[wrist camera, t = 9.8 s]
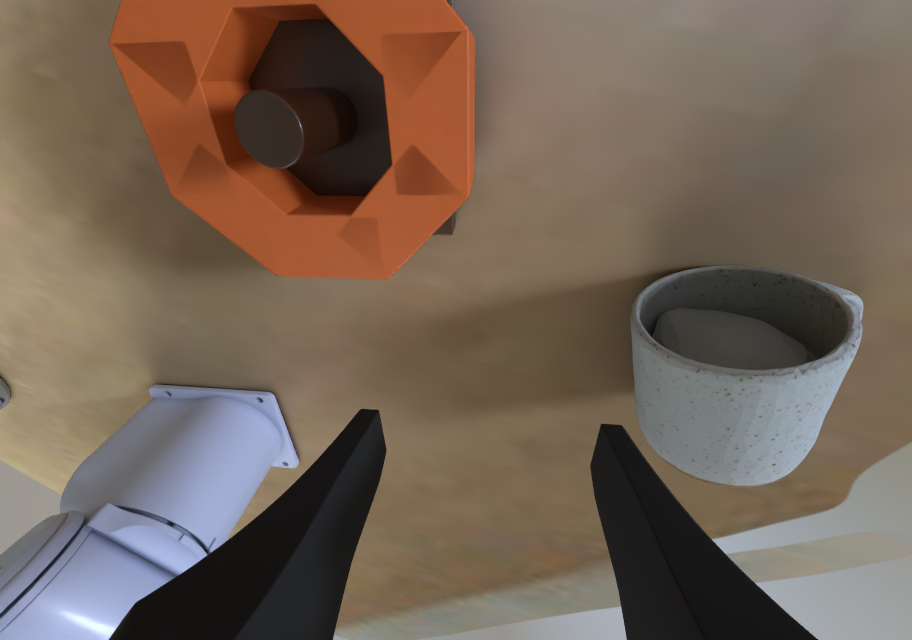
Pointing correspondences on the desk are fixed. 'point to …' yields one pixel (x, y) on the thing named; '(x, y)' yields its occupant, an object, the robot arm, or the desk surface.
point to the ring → (277, 190)
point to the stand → (318, 112)
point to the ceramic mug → (739, 368)
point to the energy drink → (4, 394)
